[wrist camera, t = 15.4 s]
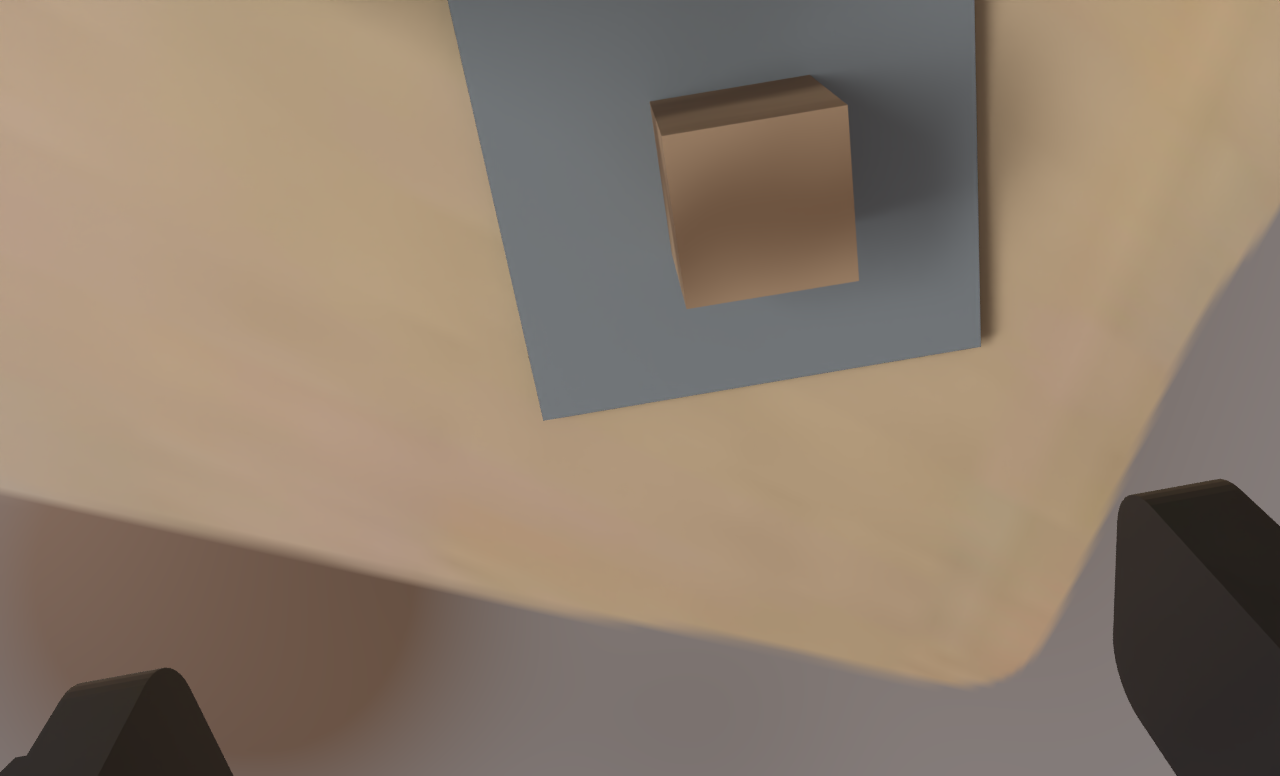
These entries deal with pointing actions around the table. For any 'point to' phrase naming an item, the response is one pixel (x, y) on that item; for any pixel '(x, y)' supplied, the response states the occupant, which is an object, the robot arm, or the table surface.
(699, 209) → the walnut cube
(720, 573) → the table surface
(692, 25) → the mat
